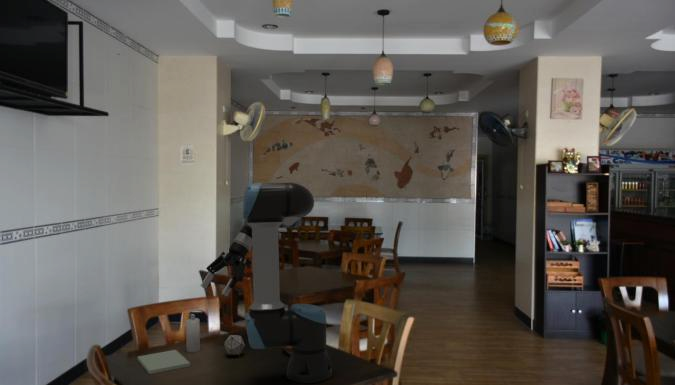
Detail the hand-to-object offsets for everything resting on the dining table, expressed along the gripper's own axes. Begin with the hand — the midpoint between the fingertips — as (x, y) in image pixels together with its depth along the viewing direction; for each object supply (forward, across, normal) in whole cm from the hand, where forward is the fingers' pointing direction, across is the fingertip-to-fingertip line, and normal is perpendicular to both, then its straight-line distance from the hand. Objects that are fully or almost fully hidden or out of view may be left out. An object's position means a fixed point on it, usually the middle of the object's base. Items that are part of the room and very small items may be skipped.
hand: (213, 291), depth 207 cm
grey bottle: (+22, +1, -8) cm, 24 cm away
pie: (+5, -34, -25) cm, 42 cm away
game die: (+18, -17, -11) cm, 27 cm away
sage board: (+32, -2, +4) cm, 32 cm away
